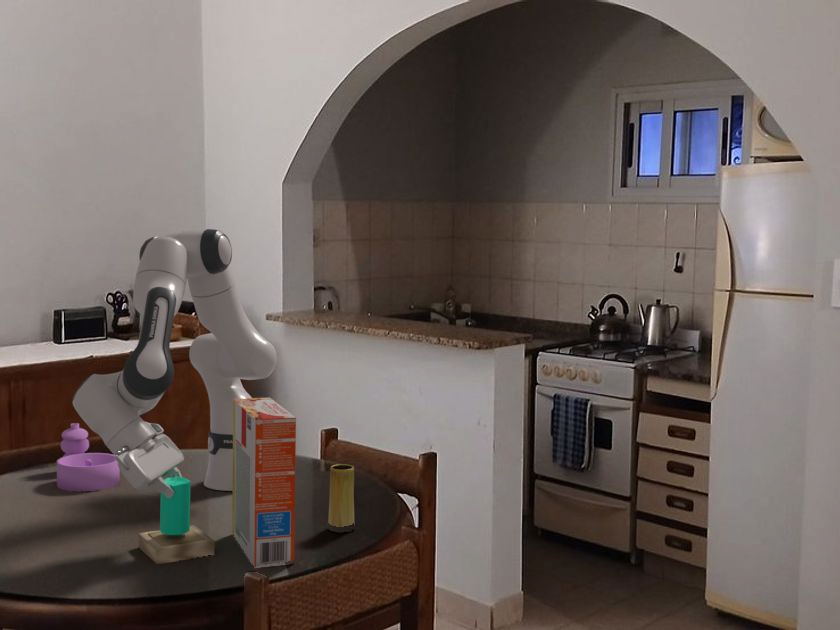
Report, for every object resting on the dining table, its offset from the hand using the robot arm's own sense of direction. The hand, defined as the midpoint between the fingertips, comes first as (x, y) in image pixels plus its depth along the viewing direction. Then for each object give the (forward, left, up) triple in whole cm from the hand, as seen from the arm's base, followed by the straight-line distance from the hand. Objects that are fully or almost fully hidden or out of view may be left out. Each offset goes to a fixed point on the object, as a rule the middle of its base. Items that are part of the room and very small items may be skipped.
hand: (178, 491), depth 209 cm
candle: (+1, -1, -8) cm, 8 cm away
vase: (-37, +3, -13) cm, 39 cm away
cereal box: (-16, +6, -13) cm, 21 cm away
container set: (+2, -66, -13) cm, 68 cm away
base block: (0, 0, -13) cm, 13 cm away
